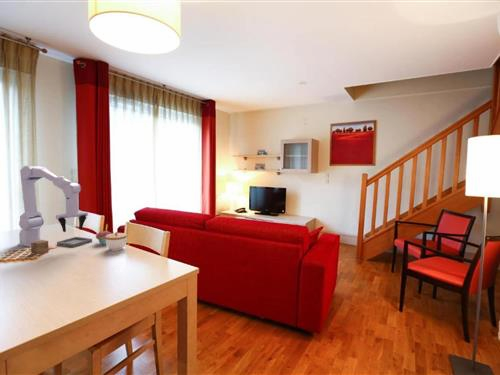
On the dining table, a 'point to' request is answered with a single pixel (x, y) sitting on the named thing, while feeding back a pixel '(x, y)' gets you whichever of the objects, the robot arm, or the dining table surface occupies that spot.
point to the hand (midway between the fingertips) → (72, 230)
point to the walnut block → (39, 247)
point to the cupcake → (102, 236)
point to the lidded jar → (116, 241)
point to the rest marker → (52, 247)
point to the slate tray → (74, 241)
